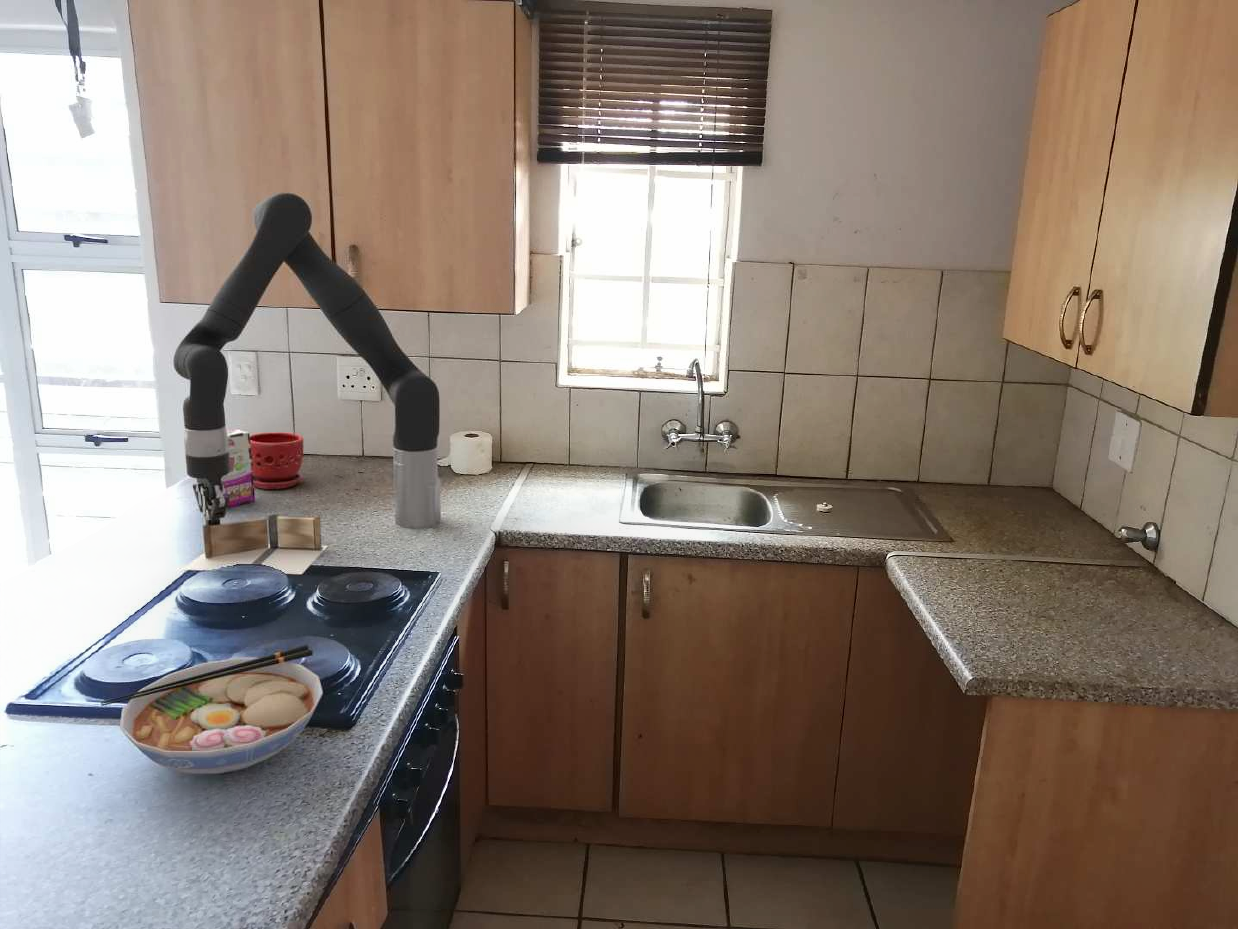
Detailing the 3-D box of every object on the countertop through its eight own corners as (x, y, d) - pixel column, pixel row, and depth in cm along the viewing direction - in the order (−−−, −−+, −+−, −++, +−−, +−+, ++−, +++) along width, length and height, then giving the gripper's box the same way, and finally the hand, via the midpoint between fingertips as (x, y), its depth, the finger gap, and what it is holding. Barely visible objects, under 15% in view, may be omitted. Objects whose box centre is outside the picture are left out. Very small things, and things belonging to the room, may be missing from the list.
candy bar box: (243, 496, 212) (238, 428, 208) (255, 501, 210) (250, 431, 205) (197, 507, 204) (191, 436, 200) (209, 512, 201) (203, 440, 197)
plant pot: (287, 494, 216) (284, 445, 213) (237, 489, 218) (233, 440, 215) (315, 479, 228) (313, 433, 225) (267, 475, 230) (264, 428, 227)
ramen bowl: (133, 841, 97) (124, 773, 95) (101, 740, 115) (94, 682, 112) (361, 767, 111) (358, 706, 109) (302, 688, 129) (298, 635, 127)
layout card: (328, 547, 182) (327, 545, 182) (301, 576, 168) (301, 573, 168) (218, 543, 182) (218, 541, 182) (182, 571, 168) (182, 569, 168)
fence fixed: (322, 548, 181) (321, 515, 179) (320, 550, 180) (318, 518, 178) (271, 546, 181) (269, 513, 179) (268, 548, 180) (266, 516, 178)
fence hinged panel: (267, 546, 180) (264, 515, 178) (268, 548, 179) (266, 517, 178) (204, 556, 174) (201, 524, 172) (206, 558, 173) (203, 526, 171)
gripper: (240, 454, 169) (246, 542, 174) (214, 440, 178) (221, 523, 183) (198, 460, 164) (206, 550, 169) (174, 445, 174) (182, 531, 178)
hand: (214, 536), depth 176 cm, fingers closed
